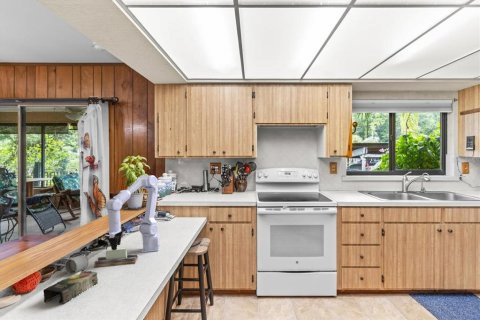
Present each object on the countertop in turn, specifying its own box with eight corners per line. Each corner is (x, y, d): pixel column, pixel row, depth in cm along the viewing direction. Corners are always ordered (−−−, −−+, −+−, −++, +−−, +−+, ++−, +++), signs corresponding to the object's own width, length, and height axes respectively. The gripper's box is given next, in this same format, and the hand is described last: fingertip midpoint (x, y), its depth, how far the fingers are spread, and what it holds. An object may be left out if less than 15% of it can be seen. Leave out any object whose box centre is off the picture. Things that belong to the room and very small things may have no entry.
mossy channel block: (82, 280, 137) (82, 267, 136) (100, 283, 134) (99, 269, 134) (43, 303, 117) (42, 288, 117) (63, 306, 115) (62, 291, 114)
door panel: (127, 258, 159) (126, 247, 159) (126, 260, 157) (125, 249, 157) (107, 260, 158) (106, 249, 158) (106, 262, 156) (105, 250, 156)
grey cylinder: (90, 268, 150) (89, 253, 150) (77, 275, 143) (76, 259, 142) (73, 267, 153) (72, 252, 153) (59, 274, 146) (58, 258, 145)
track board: (138, 257, 164) (137, 252, 164) (134, 263, 155) (134, 258, 155) (99, 261, 161) (99, 256, 160) (94, 267, 152) (93, 262, 152)
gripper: (110, 219, 163) (111, 243, 164) (102, 226, 149) (104, 252, 150) (123, 218, 164) (125, 242, 165) (117, 224, 150) (118, 251, 151)
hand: (116, 247), depth 157 cm, fingers open, 7 cm apart
